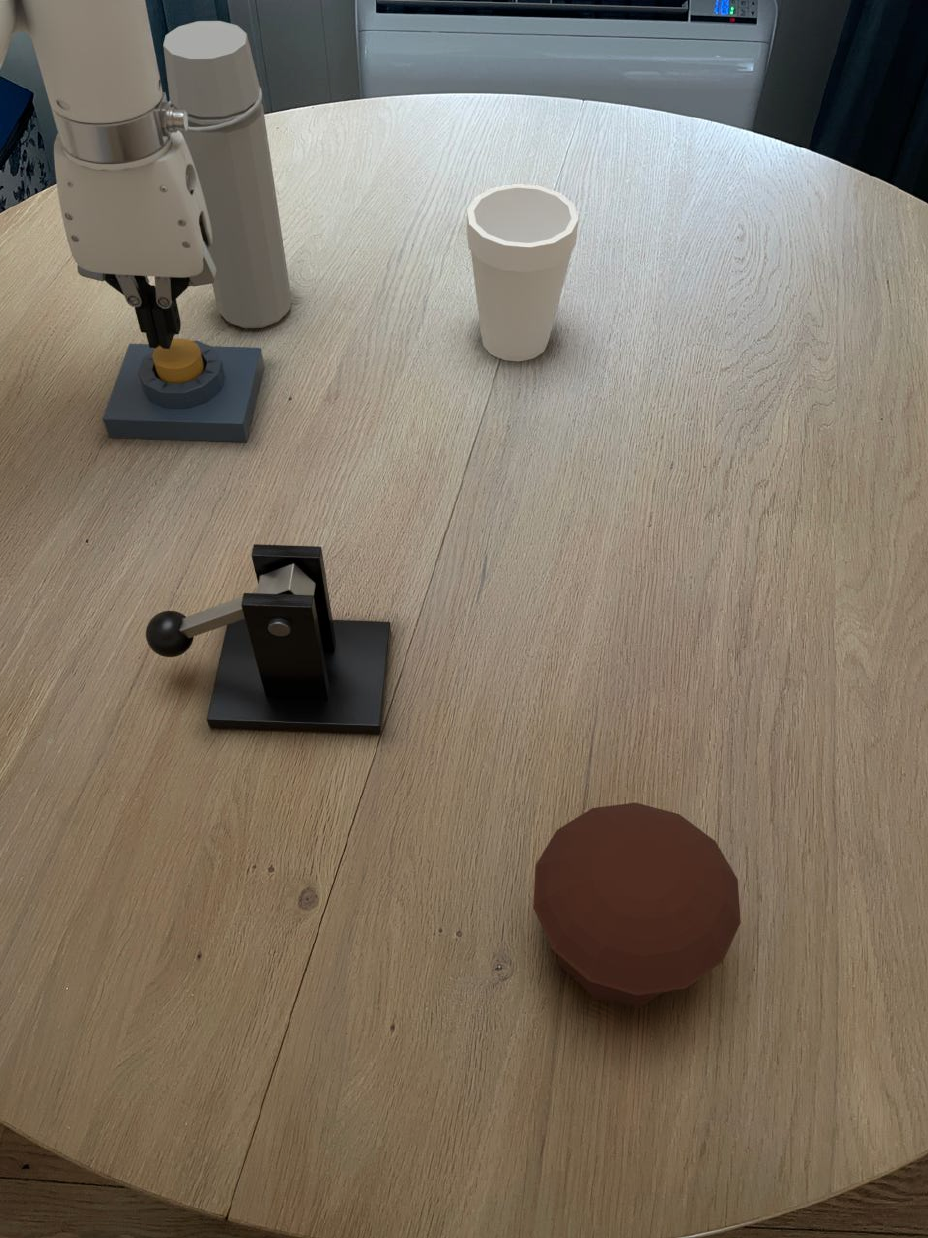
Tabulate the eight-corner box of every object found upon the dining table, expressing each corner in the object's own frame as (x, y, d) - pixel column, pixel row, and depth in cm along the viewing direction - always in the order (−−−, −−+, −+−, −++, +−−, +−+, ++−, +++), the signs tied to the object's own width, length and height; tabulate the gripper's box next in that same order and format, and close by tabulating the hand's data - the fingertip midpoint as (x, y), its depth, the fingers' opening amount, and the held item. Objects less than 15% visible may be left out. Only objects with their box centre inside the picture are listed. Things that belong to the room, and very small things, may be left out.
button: (152, 383, 89) (147, 367, 87) (162, 353, 91) (157, 337, 90) (199, 385, 89) (195, 369, 87) (207, 354, 91) (204, 338, 90)
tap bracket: (209, 728, 73) (173, 629, 63) (231, 625, 78) (200, 518, 68) (380, 735, 72) (370, 636, 63) (391, 630, 78) (382, 525, 68)
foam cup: (546, 382, 95) (558, 257, 84) (451, 358, 96) (451, 233, 86) (576, 321, 100) (590, 196, 90) (485, 299, 102) (489, 175, 91)
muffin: (690, 839, 68) (722, 765, 60) (741, 1012, 61) (784, 955, 53) (511, 863, 67) (519, 790, 59) (543, 1041, 60) (557, 987, 52)
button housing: (108, 438, 90) (96, 402, 87) (135, 362, 96) (123, 326, 93) (247, 442, 90) (239, 407, 86) (264, 366, 96) (258, 330, 92)
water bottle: (284, 279, 104) (243, 11, 83) (302, 326, 99) (263, 56, 79) (191, 296, 102) (127, 27, 82) (205, 345, 97) (141, 73, 77)
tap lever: (164, 670, 72) (130, 647, 70) (173, 633, 74) (141, 609, 72) (314, 619, 67) (284, 592, 64) (320, 580, 69) (291, 552, 66)
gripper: (229, 102, 75) (259, 315, 89) (21, 90, 75) (85, 305, 89) (210, 157, 70) (245, 372, 85) (-12, 145, 70) (62, 362, 85)
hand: (163, 337), depth 87 cm, fingers closed
